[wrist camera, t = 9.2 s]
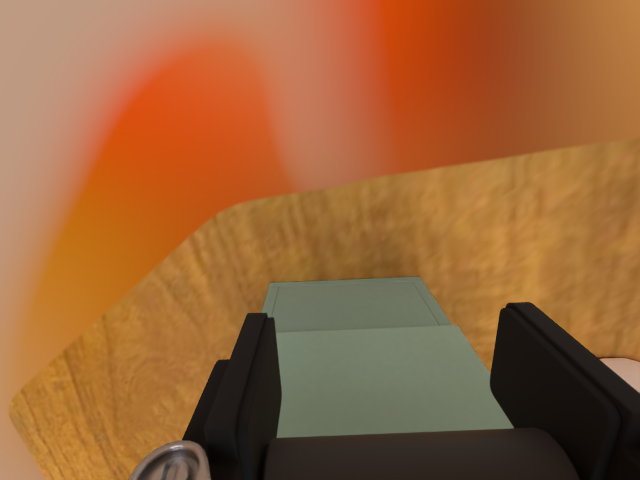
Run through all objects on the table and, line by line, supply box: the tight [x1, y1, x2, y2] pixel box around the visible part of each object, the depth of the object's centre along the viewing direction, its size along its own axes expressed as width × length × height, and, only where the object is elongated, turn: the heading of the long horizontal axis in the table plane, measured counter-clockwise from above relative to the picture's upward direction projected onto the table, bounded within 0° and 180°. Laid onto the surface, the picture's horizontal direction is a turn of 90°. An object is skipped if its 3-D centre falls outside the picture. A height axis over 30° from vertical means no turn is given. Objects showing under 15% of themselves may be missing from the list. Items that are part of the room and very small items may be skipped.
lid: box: [262, 325, 581, 480], centre depth 12 cm, size 13×12×6 cm
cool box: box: [261, 276, 452, 333], centre depth 25 cm, size 13×12×7 cm
